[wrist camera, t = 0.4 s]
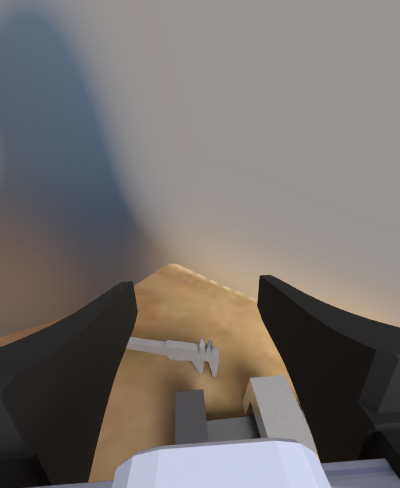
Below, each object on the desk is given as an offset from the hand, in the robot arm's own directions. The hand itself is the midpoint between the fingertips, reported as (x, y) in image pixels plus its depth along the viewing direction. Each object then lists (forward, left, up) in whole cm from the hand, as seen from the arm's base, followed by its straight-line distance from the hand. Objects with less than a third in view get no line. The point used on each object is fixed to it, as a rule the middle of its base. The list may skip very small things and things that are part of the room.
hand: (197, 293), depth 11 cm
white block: (0, -9, -20) cm, 22 cm away
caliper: (+10, +5, -21) cm, 23 cm away
